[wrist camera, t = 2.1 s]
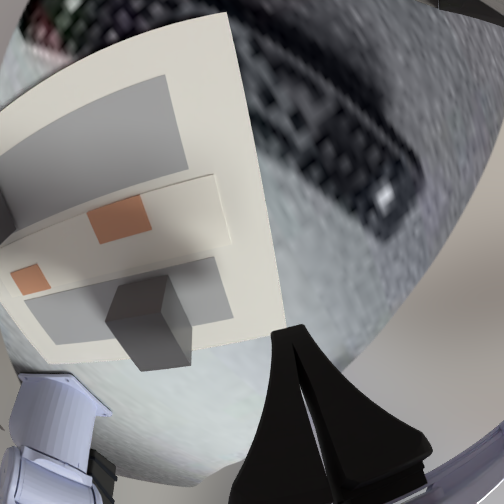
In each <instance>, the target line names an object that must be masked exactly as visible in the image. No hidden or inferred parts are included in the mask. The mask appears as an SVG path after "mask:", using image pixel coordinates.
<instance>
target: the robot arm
mask: <svg viewBox="0 0 504 504" xmlns="http://www.w3.org/2000/svg"><path fill="white" fill-rule="evenodd" d="M270 334H271V342H272V359H271V370H270V378H269V384H268V390H267V395H266V400H265V404H264V408H263V412H262V416H261V419H260V422H259V425H258V428H257V431H256V434H255V437H254V440H253V442H252V445H251V447H250V450H249V452H248V454H247V457H246V459H245V461H244V464H243V465H242V467H241V469H240V471H239V473H238V475H237V477H236V479H235V480H234V482H233V484H232V488H231V492H230V496H229V502H228V504H331V503H333V504H393V503H395V502H397V501H399V500H401V499H404V498H406V497H408V496H410V495H412V494H414V493H416V492H418V491H420V490H422V489H424V488H426V487H427V490H426V492H425V493H423V494H420V495H418V496H416V497H413V498H411V499H410V500H407V501H405V502H403V503H401V504H478V503H479V502H481V501H482V500H483V499H484V498H485V497H486V496H487V495H488V494H490V493H491V492H492V491H493V490H494V489H495V488H496V487H497V486H498V485H499V484H500V483H501V482H502V481H503V480H504V421H502V422H501V423H500V424H499V425H498V426H497V427H496V428H494V429H493V430H492V431H491V432H489V433H488V434H487V435H486V436H484V437H483V438H482V439H480V440H479V441H478V442H476V443H475V444H473V445H472V446H471V447H469V448H468V449H466V450H465V451H463V452H462V453H460V454H459V455H457V456H456V457H454V458H452V459H451V460H449V461H447V462H446V463H444V464H442V465H441V466H439V467H437V468H436V469H434V470H432V471H430V472H428V473H426V474H424V472H423V468H424V464H423V460H424V459H426V458H427V457H428V456H430V455H431V454H432V452H433V449H432V447H431V445H430V443H429V441H428V440H427V438H426V437H425V436H424V434H423V433H422V432H420V431H419V430H417V429H415V428H413V427H411V426H409V425H408V424H406V423H404V422H402V421H400V420H399V419H397V418H396V417H394V416H393V415H391V414H389V413H388V412H386V411H385V410H384V409H382V408H381V407H380V406H378V405H377V404H375V403H374V402H372V401H371V400H370V399H369V398H368V397H366V396H365V395H364V394H363V393H362V392H360V391H359V390H358V389H357V388H356V387H355V386H354V385H353V384H352V383H350V382H349V381H348V380H347V379H346V378H345V377H344V376H343V375H342V374H341V372H340V371H339V370H338V369H337V368H336V367H335V366H334V365H333V364H332V363H331V361H330V360H329V359H328V358H327V357H326V356H325V354H324V353H323V352H322V351H321V349H320V348H319V347H318V345H317V344H316V343H315V341H314V340H313V338H312V337H311V335H310V334H309V332H308V331H307V329H306V327H305V325H303V324H300V325H296V326H292V327H288V328H283V329H279V330H275V331H272V332H271V333H270ZM18 377H19V378H20V379H21V380H22V381H23V382H22V384H21V387H20V390H19V392H18V395H17V398H16V401H15V404H14V407H13V410H12V413H11V416H10V420H9V430H10V435H11V438H12V440H13V442H14V443H15V445H16V446H17V447H15V446H12V447H10V448H7V449H6V451H5V453H4V456H3V459H2V463H1V468H0V504H103V502H102V498H101V495H100V493H99V491H98V489H97V487H96V486H95V485H94V484H93V483H92V477H91V476H88V475H87V466H88V458H89V451H90V445H91V438H92V432H93V427H94V421H95V416H112V412H111V411H110V410H109V409H108V408H106V407H105V406H104V405H103V404H102V403H101V402H100V401H99V400H98V399H96V398H95V397H94V396H93V395H92V394H91V393H90V392H89V391H88V390H87V389H86V388H85V387H84V386H83V385H82V384H81V383H80V382H79V381H78V380H77V379H76V378H75V377H74V376H73V375H71V374H24V373H19V375H18ZM299 384H300V385H299ZM300 387H301V389H300ZM301 390H302V393H303V395H304V398H305V401H306V403H307V406H308V409H309V411H310V414H311V417H312V420H313V423H314V426H315V429H316V433H317V437H318V441H319V445H320V449H321V453H322V458H323V461H324V466H325V469H324V466H323V463H322V460H321V457H320V454H319V451H318V447H317V444H316V441H315V438H314V435H313V431H312V428H311V424H310V421H309V418H308V414H307V411H306V408H305V404H304V401H303V397H302V394H301ZM325 470H326V473H325ZM326 475H327V476H326Z"/></svg>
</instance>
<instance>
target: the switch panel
mask: <svg viewBox="0 0 504 504" xmlns="http://www.w3.org/2000/svg"><path fill="white" fill-rule="evenodd" d="M0 190H1V193H2V196H3V199H4V201H5V204H6V206H7V209H8V211H9V213H10V216H11V218H12V220H13V223H14V225H15V227H16V230H15V231H14V232H13V233H12V234H11V235H10V236H9V237H8V238H7V239H6V240H5V241H4V242H3V243H2V244H1V245H0V302H1V303H2V305H3V306H4V308H5V309H6V311H7V312H8V314H9V315H10V316H11V318H12V319H13V321H14V322H15V323H16V325H17V326H18V327H19V329H20V330H21V331H22V333H23V334H24V335H25V336H26V338H27V339H28V340H29V341H30V343H31V344H32V345H33V346H34V348H35V349H36V350H37V351H38V352H39V353H40V355H41V356H42V357H43V358H44V359H45V360H46V361H47V363H48V364H72V363H90V362H103V361H115V360H125V359H131V358H130V357H129V356H128V354H127V353H126V352H125V350H124V349H123V347H122V346H121V345H120V343H119V342H118V341H117V339H116V338H115V336H114V335H113V333H112V332H111V331H110V329H109V328H108V326H107V325H106V323H105V319H106V316H107V314H108V311H109V308H110V306H111V303H112V301H113V298H114V295H115V293H116V290H117V288H118V286H119V285H124V284H128V283H133V282H137V281H142V280H146V279H151V278H155V277H159V276H164V275H169V278H170V280H171V282H172V284H173V287H174V289H175V291H176V294H177V296H178V298H179V300H180V302H181V305H182V307H183V309H184V311H185V313H186V315H187V317H188V320H189V322H190V324H191V326H192V351H193V350H199V349H205V348H211V347H216V346H222V345H227V344H232V343H237V342H242V341H247V340H252V339H256V338H261V337H266V336H270V335H271V334H270V333H271V332H272V331H275V330H279V329H283V328H287V327H286V320H285V314H284V307H283V301H282V295H281V289H280V283H279V277H278V271H277V265H276V259H275V253H274V247H273V241H272V236H271V230H270V224H269V219H268V213H267V207H266V202H265V196H264V191H263V186H262V180H261V175H260V170H259V164H258V159H257V154H256V149H255V144H254V138H253V133H252V128H251V123H250V118H249V113H248V109H247V104H246V99H245V94H244V89H243V84H242V80H241V75H240V70H239V66H238V61H237V56H236V52H235V47H234V43H233V38H232V34H231V29H230V25H229V21H228V16H227V12H224V13H218V14H213V15H208V16H203V17H198V18H194V19H190V20H186V21H182V22H178V23H174V24H171V25H167V26H164V27H161V28H157V29H154V30H151V31H148V32H145V33H142V34H139V35H137V36H134V37H131V38H129V39H126V40H123V41H121V42H118V43H116V44H114V45H111V46H109V47H107V48H104V49H102V50H100V51H98V52H96V53H93V54H91V55H89V56H87V57H85V58H83V59H81V60H79V61H77V62H75V63H74V64H72V65H70V66H68V67H66V68H64V69H63V70H61V71H59V72H57V73H56V74H54V75H52V76H51V77H49V78H47V79H46V80H44V81H43V82H41V83H40V84H38V85H36V86H35V87H33V88H32V89H31V90H29V91H28V92H26V93H25V94H23V95H22V96H20V97H19V98H18V99H16V100H15V101H14V102H12V103H11V104H10V105H8V106H7V107H6V108H5V109H3V110H2V111H1V112H0Z"/></svg>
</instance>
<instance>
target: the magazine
mask: <svg viewBox="0 0 504 504" xmlns="http://www.w3.org/2000/svg"><path fill="white" fill-rule="evenodd" d="M115 471H116V466H115V465H113V464H112V463H111V462H109V461H108V460H107V459H105V458H104V457H103V456H102V455H100V454H99V453H98V452H97V451H95V450H92V449H90V451H89V458H88V466H87V475H88V476H91V477H92V483H93V484H94V485H95V486H96V487H97V489H98V491H99V493H100V495H101V498H102V502H103V504H114V502H115V501H114V499H113V498H112V496H113V490H114V481H117V476H116V475H115Z"/></svg>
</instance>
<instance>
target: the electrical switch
mask: <svg viewBox="0 0 504 504" xmlns="http://www.w3.org/2000/svg"><path fill="white" fill-rule="evenodd" d="M415 1H418V2H421V3H424V4H427V5H430V6H433V7H435V8H438V0H415ZM439 10H444V11H449V12H453V13H458V14H462V15H466V16H470V17H473V18H477V19H480V20H484V21H487V22H490V23H493V24H496V25H499V26H502V27H504V0H439Z"/></svg>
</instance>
